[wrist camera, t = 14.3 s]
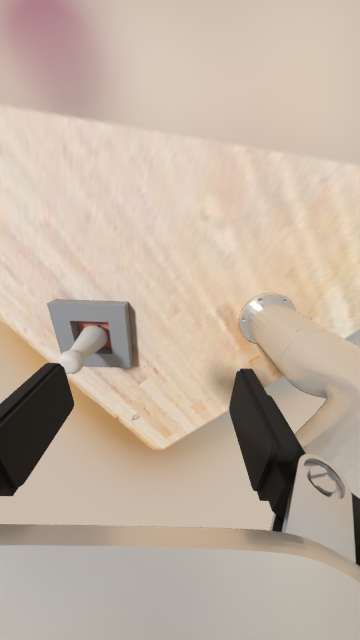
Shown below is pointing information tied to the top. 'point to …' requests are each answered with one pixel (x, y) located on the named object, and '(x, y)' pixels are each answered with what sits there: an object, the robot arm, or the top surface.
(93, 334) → the white bulbous peg
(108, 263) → the top surface
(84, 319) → the socket board
